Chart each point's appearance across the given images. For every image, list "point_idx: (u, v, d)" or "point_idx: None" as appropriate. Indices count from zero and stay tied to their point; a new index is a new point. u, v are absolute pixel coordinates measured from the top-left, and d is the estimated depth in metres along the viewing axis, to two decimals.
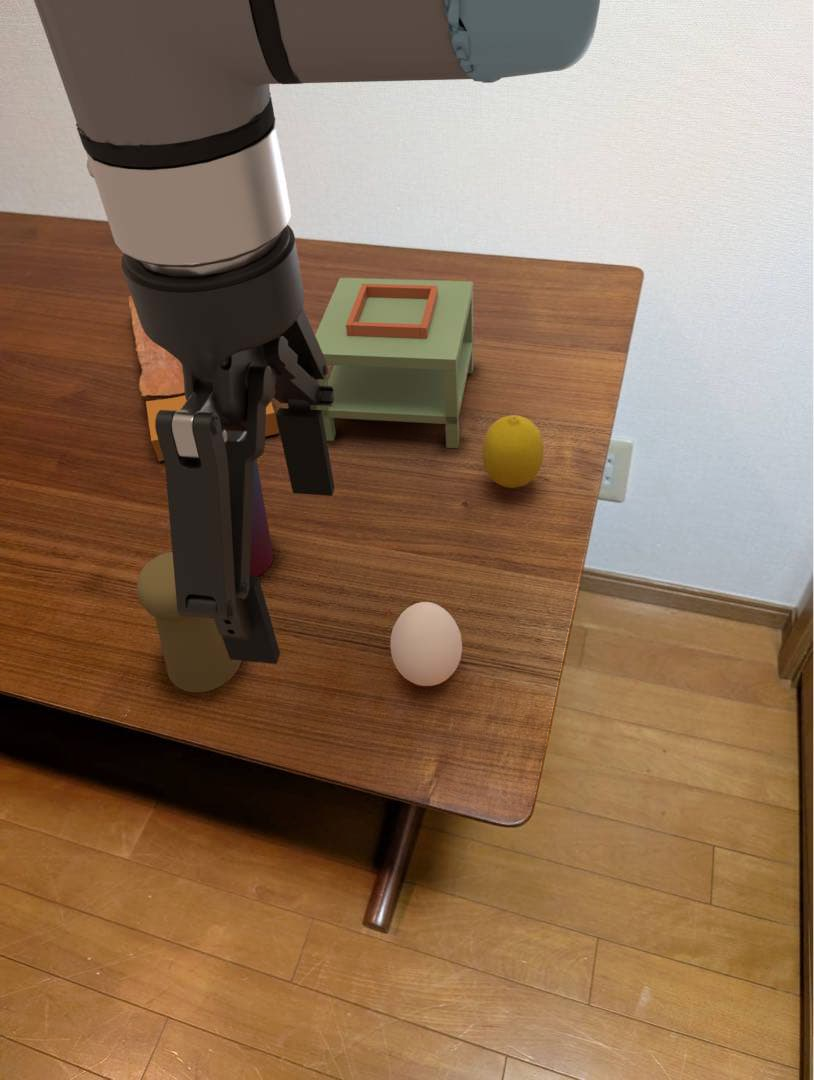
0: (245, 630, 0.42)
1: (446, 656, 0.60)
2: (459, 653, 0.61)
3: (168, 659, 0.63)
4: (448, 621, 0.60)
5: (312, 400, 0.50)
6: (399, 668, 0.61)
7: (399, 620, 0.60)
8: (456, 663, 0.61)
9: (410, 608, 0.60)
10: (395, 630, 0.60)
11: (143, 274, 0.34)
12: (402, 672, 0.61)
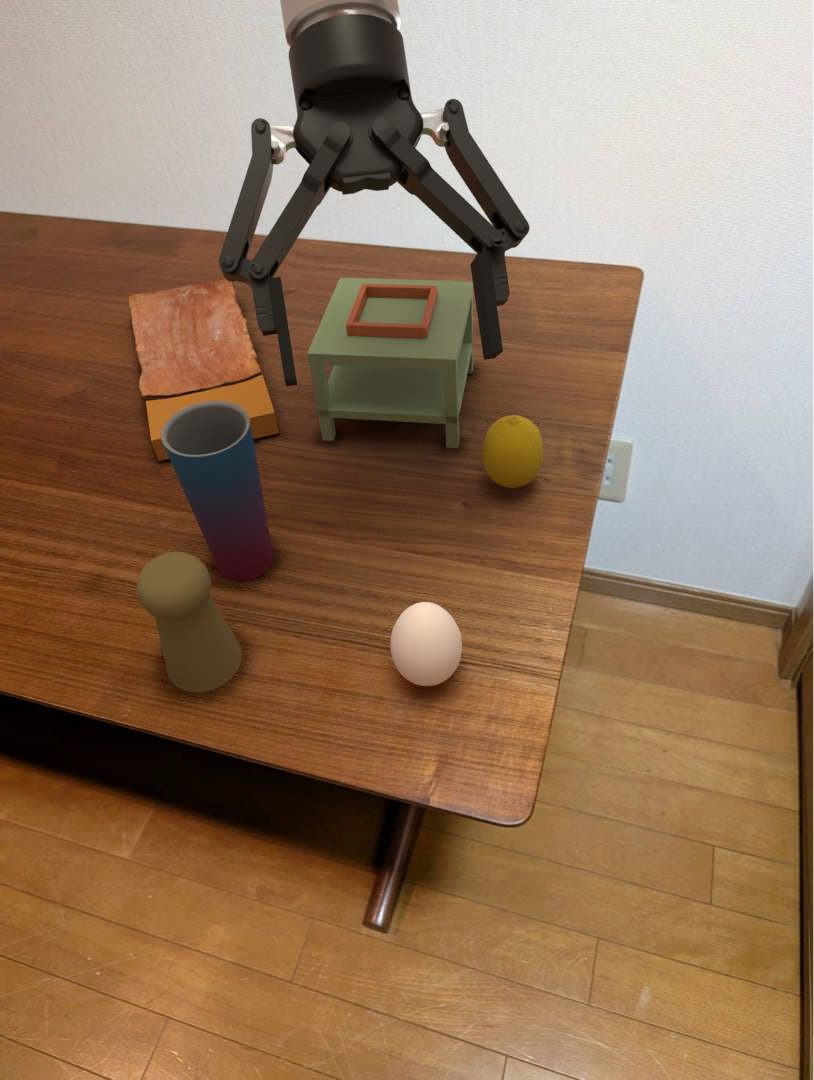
0: (260, 319, 0.53)
1: (446, 656, 0.60)
2: (459, 653, 0.61)
3: (168, 659, 0.63)
4: (448, 621, 0.60)
5: (475, 234, 0.54)
6: (399, 668, 0.61)
7: (399, 620, 0.60)
8: (456, 663, 0.61)
9: (410, 608, 0.60)
10: (395, 630, 0.60)
11: None
12: (402, 672, 0.61)
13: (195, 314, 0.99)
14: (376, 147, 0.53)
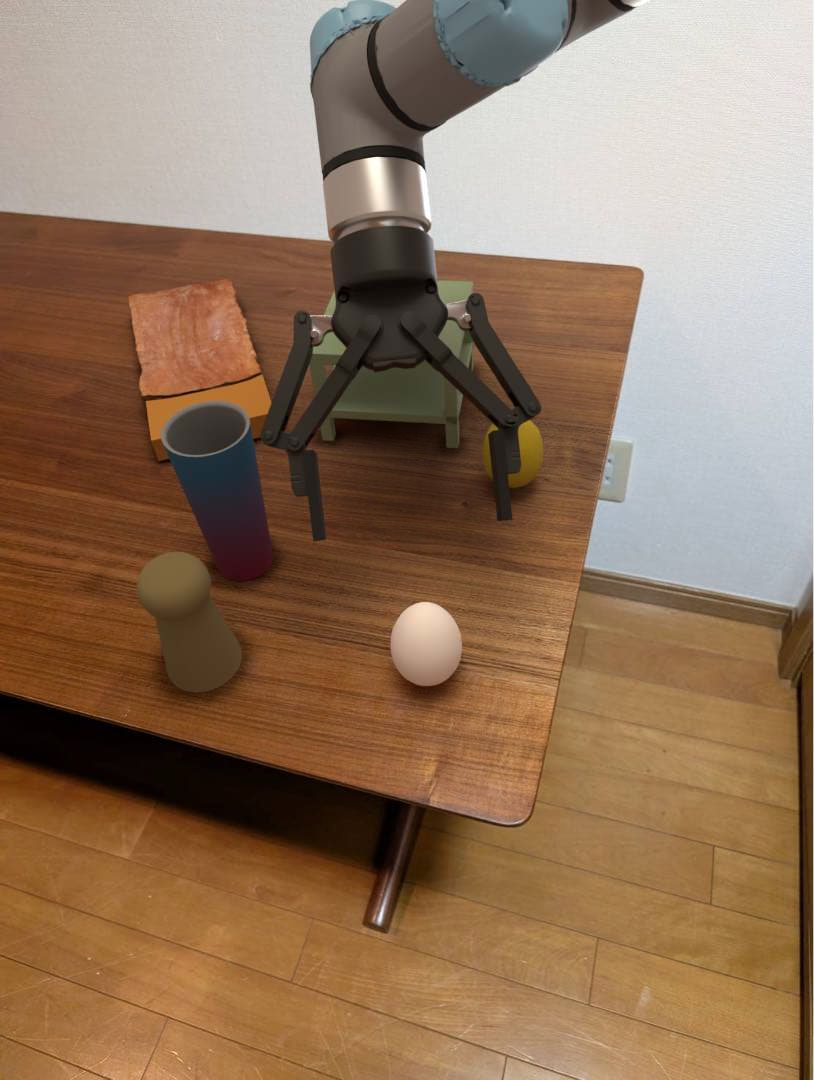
0: (294, 485, 0.60)
1: (446, 656, 0.60)
2: (459, 653, 0.61)
3: (168, 659, 0.63)
4: (448, 621, 0.60)
5: (491, 413, 0.60)
6: (399, 668, 0.61)
7: (399, 620, 0.60)
8: (456, 663, 0.61)
9: (410, 608, 0.60)
10: (395, 630, 0.60)
11: None
12: (402, 672, 0.61)
13: (195, 314, 0.99)
14: (404, 335, 0.59)
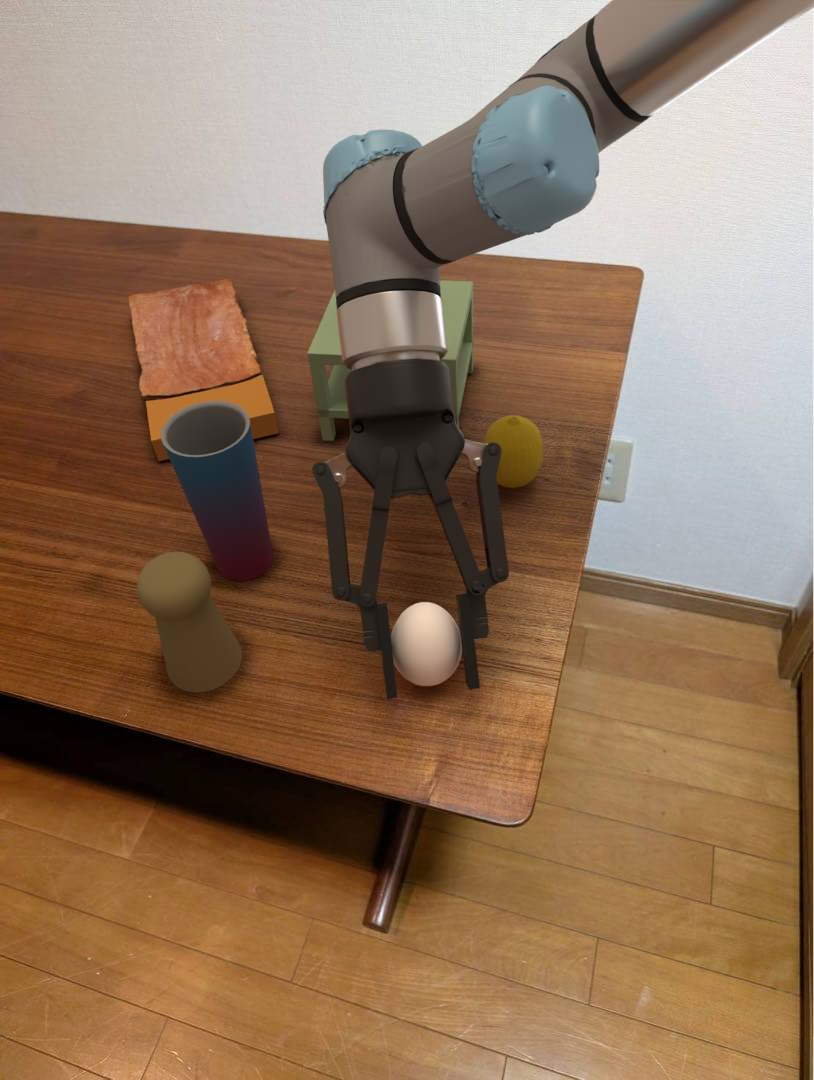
0: (367, 641, 0.59)
1: (446, 656, 0.60)
2: (459, 653, 0.61)
3: (168, 659, 0.63)
4: (447, 622, 0.60)
5: (462, 572, 0.58)
6: (399, 668, 0.61)
7: (399, 620, 0.60)
8: (456, 663, 0.61)
9: (410, 608, 0.60)
10: (395, 630, 0.60)
11: None
12: (402, 672, 0.61)
13: (195, 314, 0.99)
14: (415, 463, 0.58)
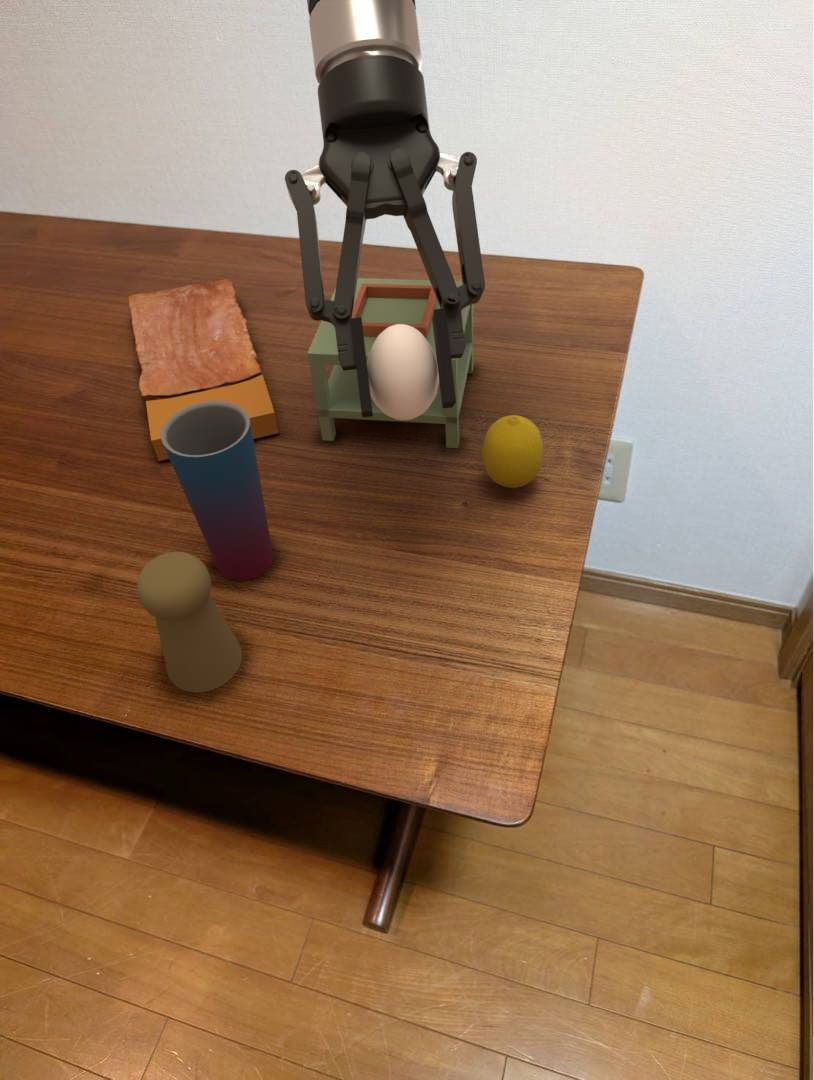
0: (341, 356, 0.58)
1: (422, 375, 0.59)
2: (436, 379, 0.60)
3: (168, 659, 0.63)
4: (423, 340, 0.59)
5: (437, 284, 0.58)
6: (375, 395, 0.60)
7: (374, 342, 0.59)
8: (433, 389, 0.60)
9: (385, 329, 0.59)
10: (370, 353, 0.59)
11: None
12: (378, 399, 0.60)
13: (195, 314, 0.99)
14: (389, 173, 0.57)
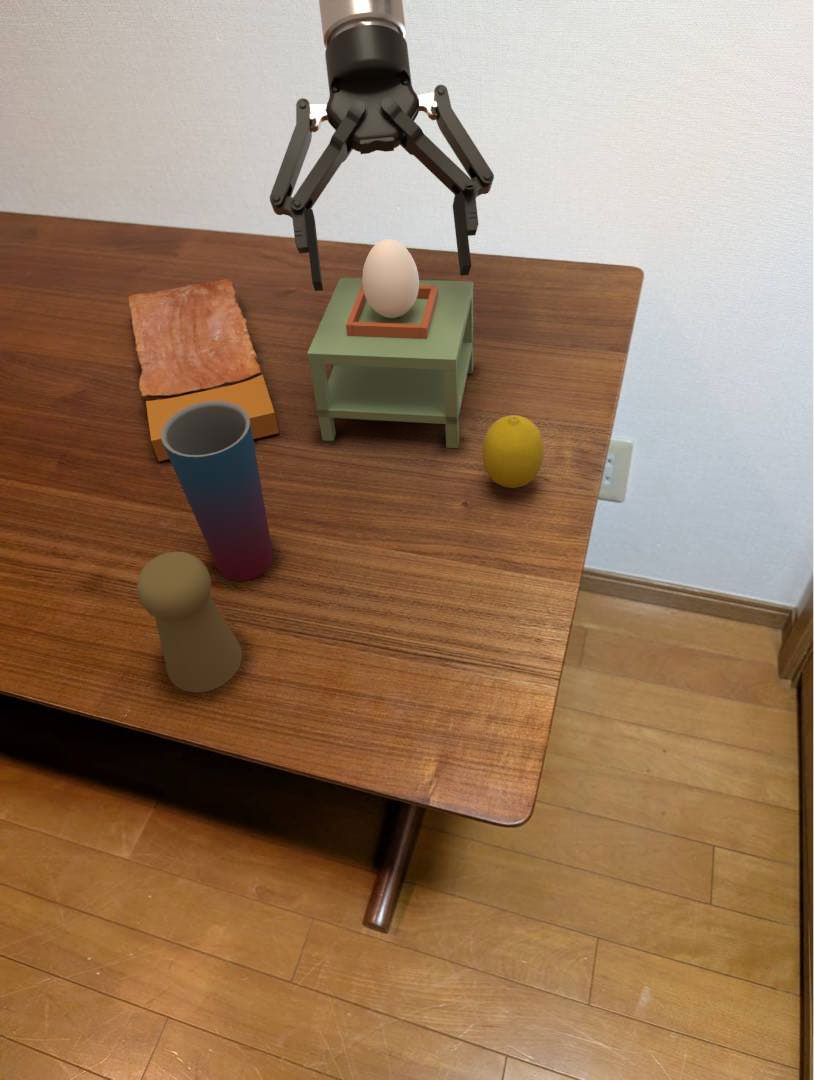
0: (297, 239, 0.75)
1: (405, 278, 0.76)
2: (416, 283, 0.78)
3: (168, 659, 0.63)
4: (406, 251, 0.76)
5: (453, 181, 0.75)
6: (369, 295, 0.78)
7: (369, 253, 0.77)
8: (414, 291, 0.78)
9: (377, 243, 0.77)
10: (365, 262, 0.77)
11: None
12: (371, 298, 0.78)
13: (195, 314, 0.99)
14: (384, 119, 0.75)
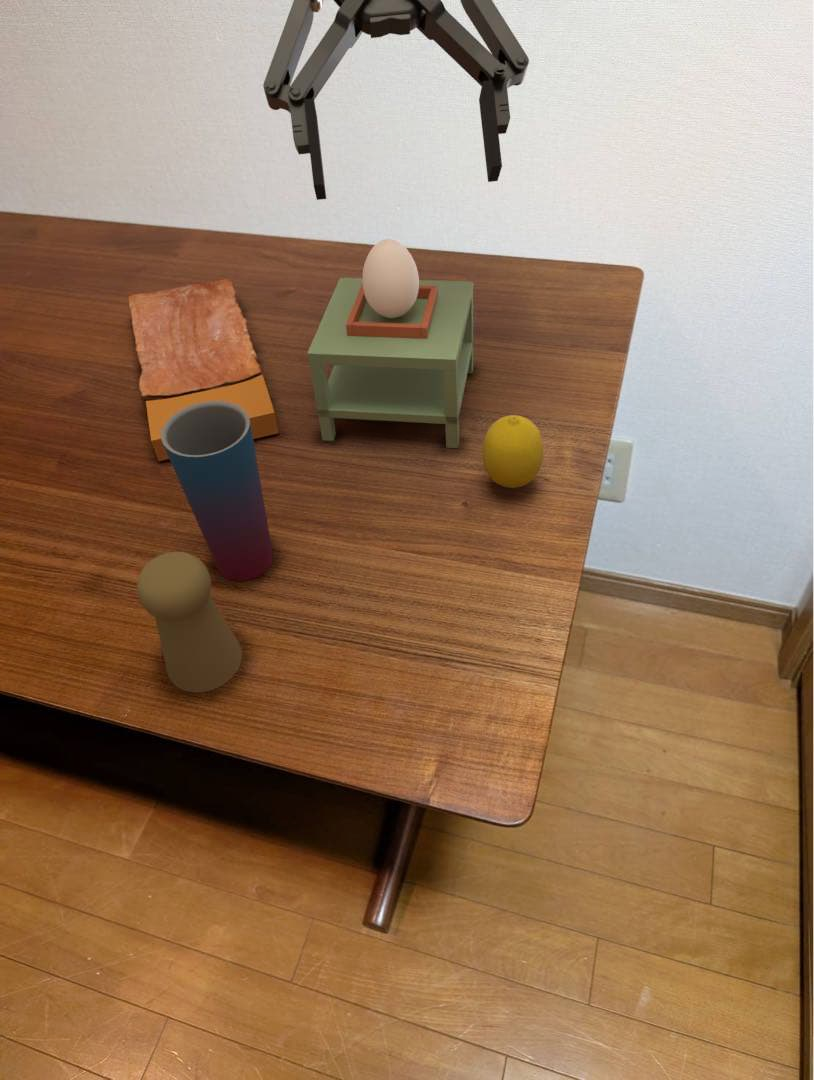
0: (296, 136, 0.63)
1: (405, 278, 0.76)
2: (416, 283, 0.78)
3: (168, 659, 0.63)
4: (406, 251, 0.76)
5: (481, 66, 0.63)
6: (369, 295, 0.78)
7: (369, 253, 0.77)
8: (414, 291, 0.78)
9: (377, 243, 0.77)
10: (365, 262, 0.77)
11: None
12: (371, 298, 0.78)
13: (195, 314, 0.99)
14: None
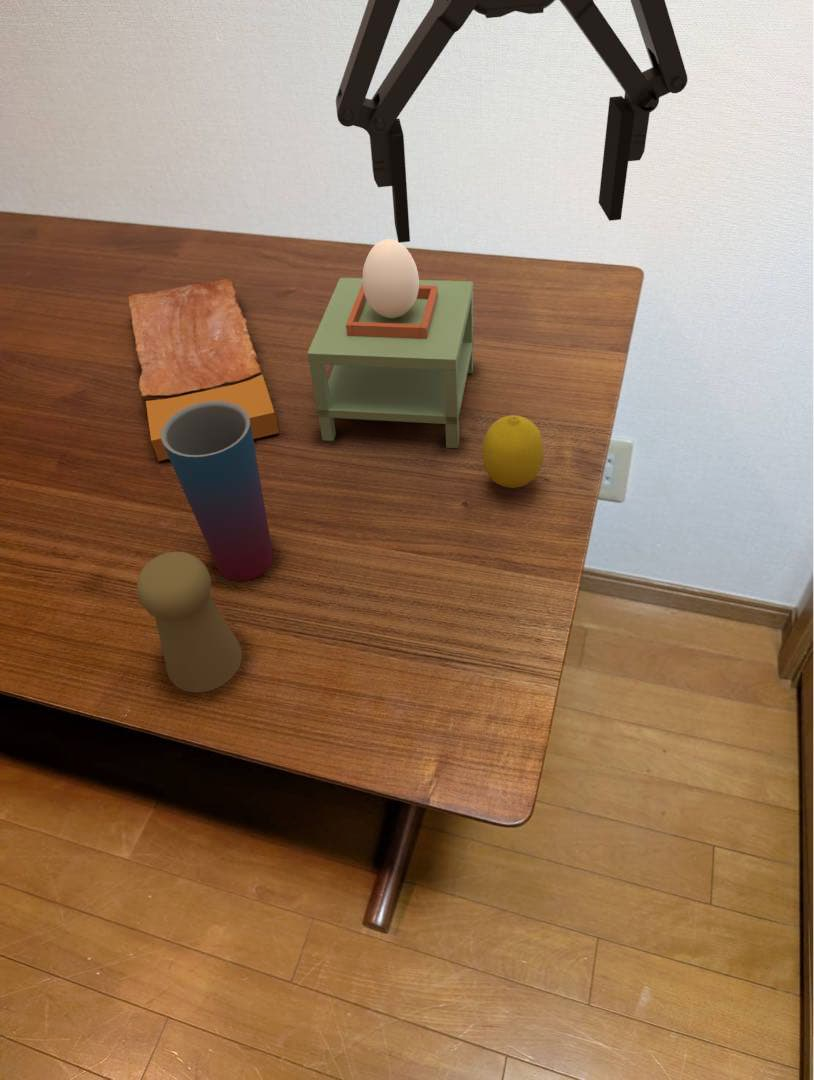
0: (377, 174, 0.50)
1: (405, 278, 0.76)
2: (416, 283, 0.78)
3: (168, 659, 0.63)
4: (406, 251, 0.76)
5: (624, 88, 0.48)
6: (369, 295, 0.78)
7: (369, 253, 0.77)
8: (414, 291, 0.78)
9: (377, 243, 0.77)
10: (365, 262, 0.77)
11: None
12: (371, 298, 0.78)
13: (195, 314, 0.99)
14: None
